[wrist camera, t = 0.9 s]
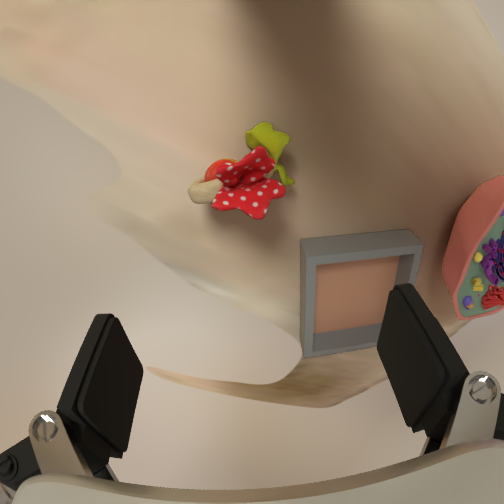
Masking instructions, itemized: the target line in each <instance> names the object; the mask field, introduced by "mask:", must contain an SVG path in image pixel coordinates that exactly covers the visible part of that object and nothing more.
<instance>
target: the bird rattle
mask: <svg viewBox="0 0 504 504" xmlns="http://www.w3.org/2000/svg"><path fill="white" fill-rule="evenodd" d="M245 138H246V143H247V145H248V146H249V147H250V148H251V149H253V150H252V151H251V152H250V153H249V154H248V155H246V156H245V157H244V158H243V159H242V160H241V161H239V162H237V161H235V160H232V159H221V160H219V161H216V162H214V163H213V164H212V165H211V166H210V167H209V168H208V170H207V171H206V174H205V176H203V177H201V178H200V179H198V180H196V181H195V182H193V183H192V184H191V185H190V186H189V188H188V193H189V196H190V198H191V200H192V201H193V202H194V203H196V204H204V203H211V202H213V203H212V208H214V209H216V210H219V211H227V210H232V209H240V210H241V211H243V212H244V213H245V214H247V215H248V216H250V217H252V218H254V219H256V220H258V219H263V218H264V217H265V214H266V211H267V208H268V206H269V204H270V202H271V200H272V199H277V198H281V197H284V196H285V185H293V184H294V183H295V181H294V180H293V179H292V178H289V177H288V175H287V173H286V171H285V169H284V167H283V166H282V165H280V164H279V163H277V162H278V159H279V157H280V155H281V153H282V151H283V148H284V147H285V146H286V145H287V144H288V143H289V141H290V139H289V136H288V135H287V134H285V133H284V132H279V131H274V128H273V126H272V125H271V124H270V123H268V122H261V123H259V124H258V125H256V126H255V127H254V128H253V129H252V130H250V131H249V130H248V131H246V135H245ZM276 170H278V171H279V175H280V180H281V183H280V182H278V181H277V180H275V179H269V178H270V177H271V176H272V175H273V174H274V173H275V171H276Z"/></svg>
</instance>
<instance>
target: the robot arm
mask: <svg viewBox="0 0 504 504" xmlns="http://www.w3.org/2000/svg"><path fill="white" fill-rule="evenodd" d="M377 350H378V353H379V356H380V358H381V361H382V363H383V366H384V368H385V370H386V373H387V375H388V378H389V380H390V383H391V386H392V388H393V391H394V393H395V396H396V398H397V401H398V403H399V407H400V409H401V412H402V415H403V417H404V420H405V423H406V425H407V426H408V427H411V428H412V431H413V433H415V432H418V431H421V430H425V433H426V435H427V439H426V442H425V444H424V446H423V449H422V451H421V453H420V456H419V457H416V458H413V459H410V460H407V461H404V462H401V463H397V464H394V465H390V466H387V467H383V468H380V469H376V470H372V471H368V472H364V473H360V474H356V475H351V476H347V477H342V478H337V479H332V480H326V481H321V482H314V483H307V484H300V485H293V486H284V487H275V488H261V489H243V490H195V489H175V488H163V487H154V486H145V485H138V484H130V483H123V482H119V481H118V479H117V477H116V476H115V474H114V472H113V471H112V469H111V467H110V466H109V464H108V462H109V457H114V458H122V455H123V452H125V451H126V450H127V448H128V442H129V438H130V432H131V428H132V423H133V418H134V413H135V408H136V404H137V399H138V395H139V390H140V385H141V382H142V377H143V367H142V364H141V363H140V360H139V359H138V357H137V355H136V353H135V351H134V349H133V347H132V345H131V343H130V341H129V339H128V337H127V335H126V333H125V331H124V329H123V327H122V325H121V323H120V321H119V319H118V318H116V317H114V315H113V314H97V315H96V316H95V318H94V320H93V322H92V324H91V326H90V328H89V330H88V332H87V335H86V337H85V339H84V341H83V344H82V346H81V348H80V350H79V353H78V355H77V357H76V360H75V362H74V364H73V367H72V369H71V372H70V374H69V377H68V379H67V382H66V384H65V387H64V389H63V392H62V395H61V397H60V400H59V403H58V405H57V411H56V412H54V411H50V410H45V411H42V412H40V413H38V414H37V415H35V417H34V418H33V419H32V421H31V423H30V425H29V436H28V437H27V438H25V439H24V440H22V441H21V442H19V443H17V444H16V445H14V446H12V447H11V448H9V449H7V450H6V451H4V452H3V453H1V454H0V504H504V394H502V393H501V388H500V385H499V382H498V381H497V380H496V378H495V377H494V376H493V375H491V374H490V373H487V372H483V371H477V372H473V373H471V374H469V372H468V370H467V368H466V367H465V365H464V363H463V361H462V360H461V358H460V356H459V354H458V353H457V351H456V349H455V348H454V346H453V344H452V343H451V341H450V340H449V338H448V336H447V334H446V333H445V331H444V330H443V328H442V327H441V325H440V323H439V322H438V320H437V319H436V318H435V317H434V316H433V314H432V313H431V311H430V310H429V308H428V307H427V305H426V304H425V302H424V301H423V299H422V298H421V296H420V295H419V293H418V292H417V291H416V289H415V288H414V286H413V285H412V284H411V283H405V284H399V285H395V286H394V288H393V290H390V291H389V295H388V300H387V304H386V309H385V313H384V317H383V321H382V326H381V330H380V334H379V337H378V341H377Z"/></svg>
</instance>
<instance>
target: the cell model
mask: <svg viewBox="0 0 504 504" xmlns="http://www.w3.org/2000/svg"><path fill="white" fill-rule="evenodd" d="M441 272H442V277H443V279H444V282H445V284H446V286H447V289H448V291H449V294H450V296H451V299H452V302H453V306H454V309H455V312H456V316H457V317H458V318H459V319H460V320H470V319H475V318H479V317H483V316H487V315H491V314H494V313H497V312H499V311H500V310H502V309H503V308H504V175H501V176H498V177H495V178H493V179H490V180H488V181H485V182H484V183H482V184H480V185H479V186H478V187H477V188H476V189H475V191H474V192H473V193H472V194H471V196H470V197H469V198H468V199H467V201H466V202H465V203H464V204H463V205H462V207H461V209H460V210H459V212H458V215H457V217H456V220H455V223H454V226H453V229H452V232H451V235H450V238H449V241H448V244H447V248H446V251H445V254H444V257H443V261H442V266H441Z"/></svg>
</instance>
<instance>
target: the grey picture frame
mask: <svg viewBox="0 0 504 504" xmlns="http://www.w3.org/2000/svg"><path fill="white" fill-rule="evenodd" d="M423 247H424V244H423V243H422V242H421V241H420V239H419V238H418V237H417V236H416V235H415V234H414V233H413V232H412V231H411V230H410V229H405V230H394V231H383V232H372V233H361V234H350V235H340V236H329V237H319V238H308V239H300V342H301V346H302V351H303V356H304V358H309V357H316V356H323V355H329V354H336V353H342V352H348V351H354V350H359V349H365V348H370V347H375V346H377V341H378V337H379V334H380V330H381V326H382V321H383V317H384V313H385V309H386V304H387V300H388V295H389V291H390V290H393V288H394V286H395V285H399V284H405V283H411V284H412V285H413V286H415V282H416V278H417V274H418V270H419V266H420V261H421V257H422V252H423Z"/></svg>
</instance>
